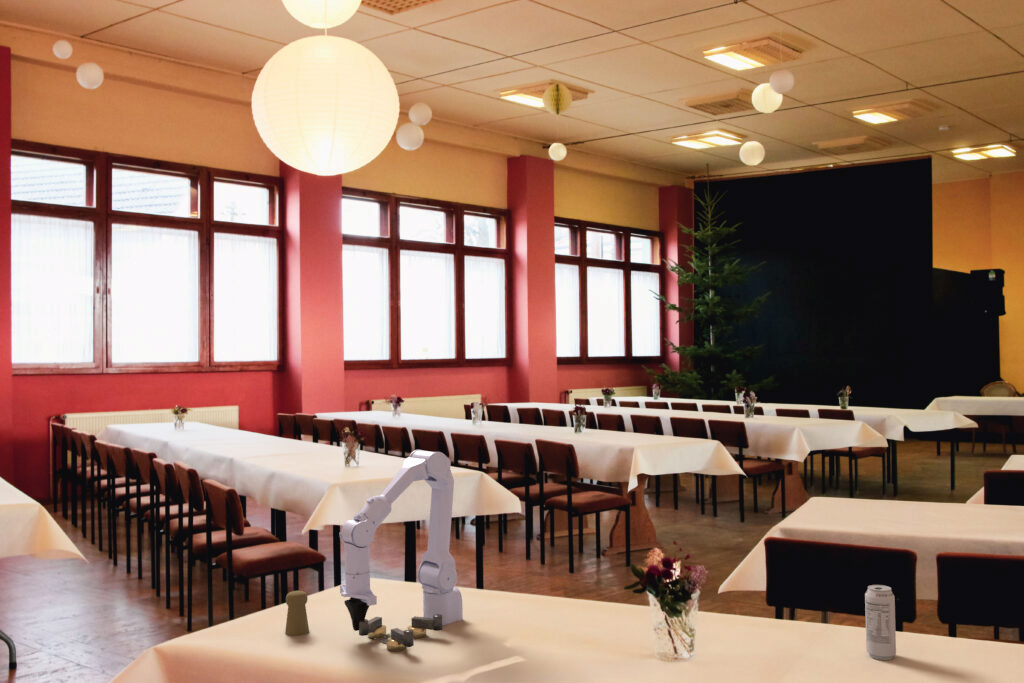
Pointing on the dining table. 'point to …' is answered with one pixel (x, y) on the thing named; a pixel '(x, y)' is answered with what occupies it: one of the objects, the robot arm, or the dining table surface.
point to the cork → (296, 614)
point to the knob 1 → (372, 628)
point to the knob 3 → (425, 625)
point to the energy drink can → (880, 622)
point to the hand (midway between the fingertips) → (358, 629)
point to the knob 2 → (400, 640)
